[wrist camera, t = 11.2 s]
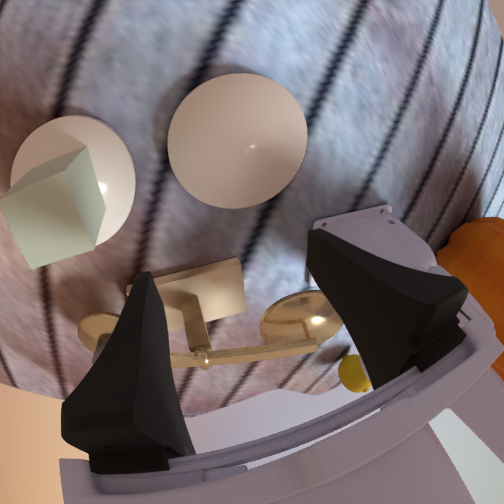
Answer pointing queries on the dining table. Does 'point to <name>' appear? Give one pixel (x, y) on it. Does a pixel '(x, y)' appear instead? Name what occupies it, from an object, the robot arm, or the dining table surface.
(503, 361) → the decorative pumpkin
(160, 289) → the balance stand
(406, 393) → the robot arm
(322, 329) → the balance beam
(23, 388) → the dining table surface
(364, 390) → the lemon
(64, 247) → the block
